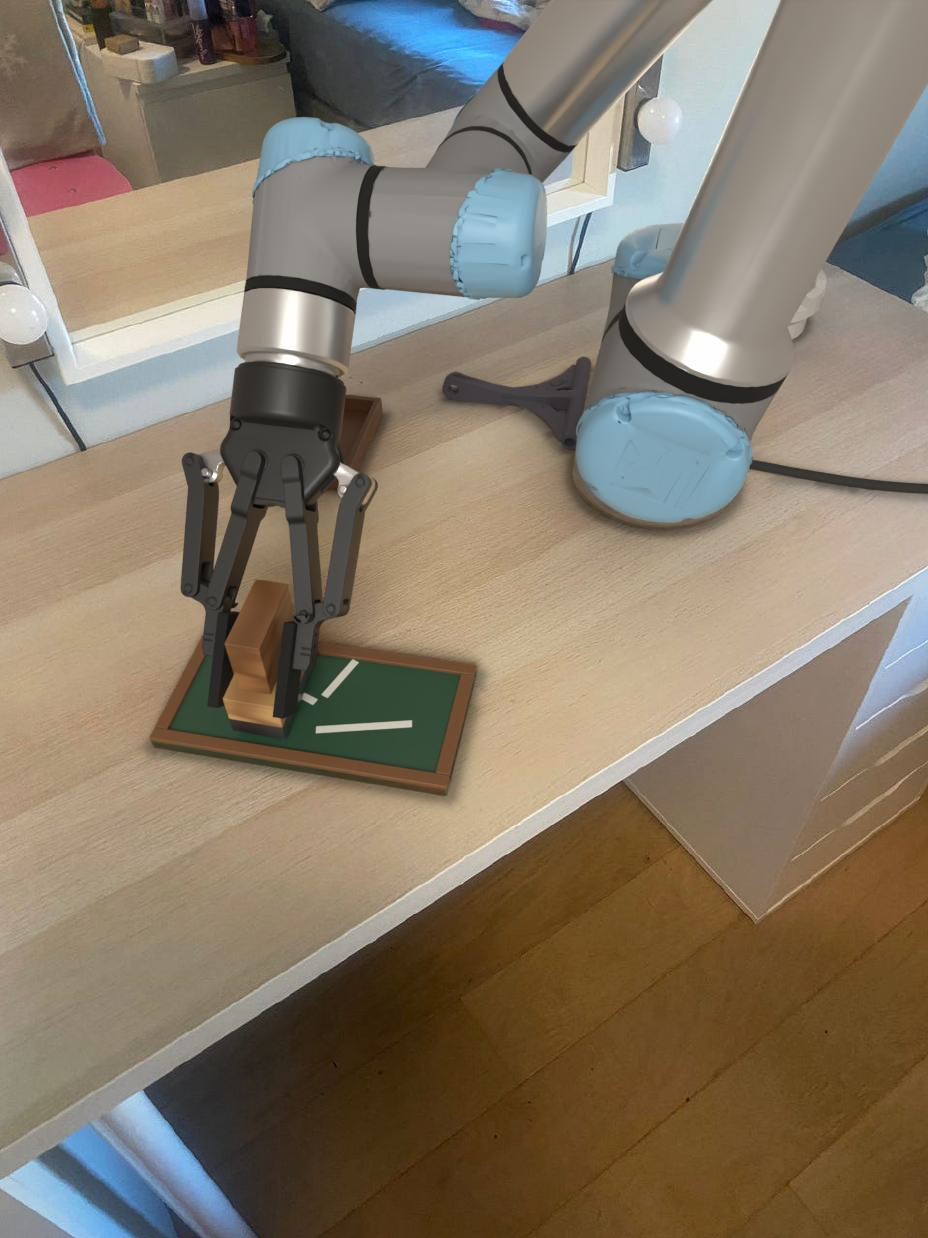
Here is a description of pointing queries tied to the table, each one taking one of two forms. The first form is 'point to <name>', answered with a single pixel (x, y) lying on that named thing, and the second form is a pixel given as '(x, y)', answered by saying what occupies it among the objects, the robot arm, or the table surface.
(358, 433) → the shallow brown tray
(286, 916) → the table surface
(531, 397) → the dark squeegee
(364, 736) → the chalkboard
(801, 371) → the table surface
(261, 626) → the eraser
